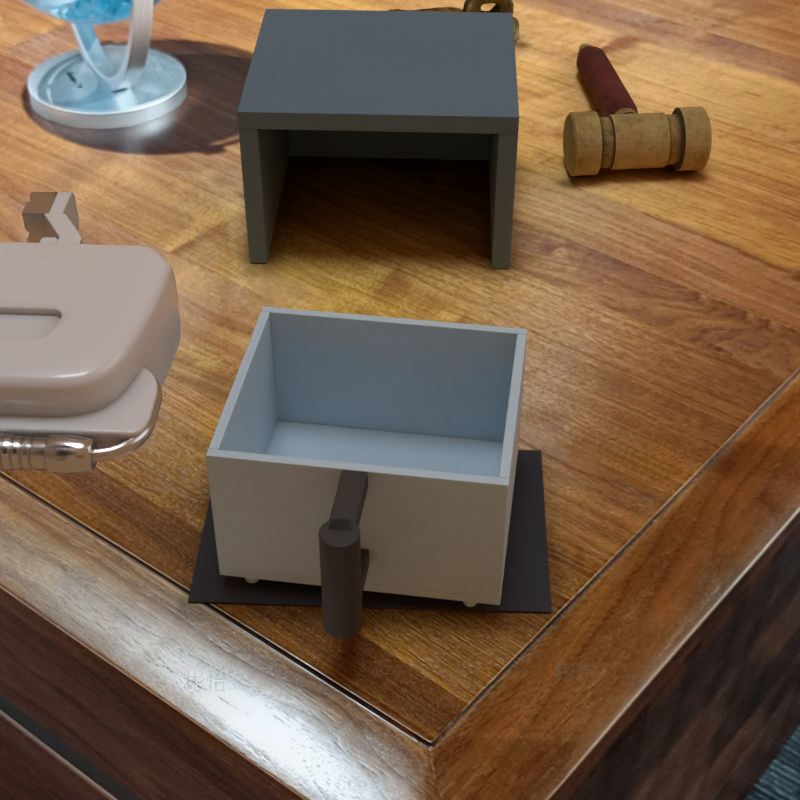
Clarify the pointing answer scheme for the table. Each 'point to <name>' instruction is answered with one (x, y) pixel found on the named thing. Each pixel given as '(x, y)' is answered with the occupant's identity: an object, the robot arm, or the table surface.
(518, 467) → the mat
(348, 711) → the table surface
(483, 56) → the cabinet
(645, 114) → the gavel
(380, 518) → the bin
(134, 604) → the table surface
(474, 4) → the seal
